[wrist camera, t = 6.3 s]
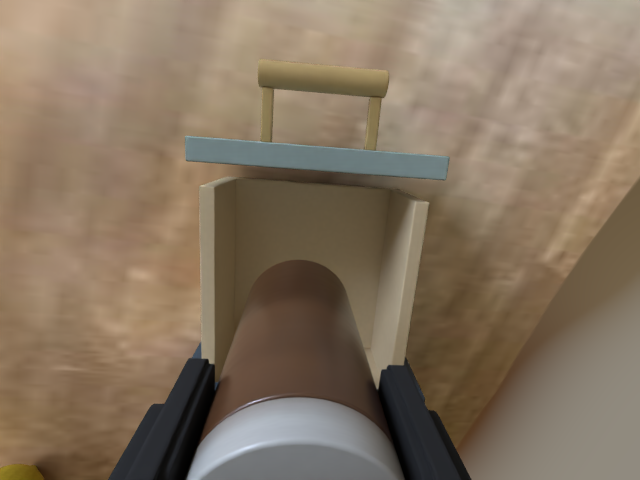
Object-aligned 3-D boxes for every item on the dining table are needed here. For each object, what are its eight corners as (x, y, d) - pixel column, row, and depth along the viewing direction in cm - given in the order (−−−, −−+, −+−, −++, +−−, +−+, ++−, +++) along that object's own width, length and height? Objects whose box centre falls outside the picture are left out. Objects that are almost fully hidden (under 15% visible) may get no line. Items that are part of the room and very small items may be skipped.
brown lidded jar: (230, 280, 16) (119, 494, 6) (328, 244, 16) (373, 405, 6) (271, 364, 18) (232, 650, 8) (361, 331, 18) (444, 581, 7)
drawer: (218, 69, 22) (182, 36, 15) (420, 87, 23) (466, 63, 16) (218, 342, 27) (191, 403, 20) (384, 350, 28) (407, 411, 21)
